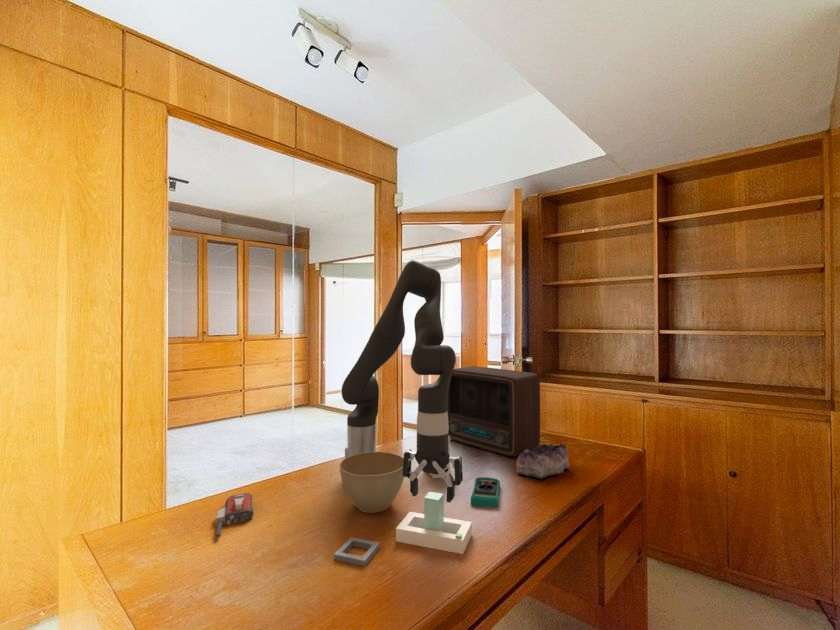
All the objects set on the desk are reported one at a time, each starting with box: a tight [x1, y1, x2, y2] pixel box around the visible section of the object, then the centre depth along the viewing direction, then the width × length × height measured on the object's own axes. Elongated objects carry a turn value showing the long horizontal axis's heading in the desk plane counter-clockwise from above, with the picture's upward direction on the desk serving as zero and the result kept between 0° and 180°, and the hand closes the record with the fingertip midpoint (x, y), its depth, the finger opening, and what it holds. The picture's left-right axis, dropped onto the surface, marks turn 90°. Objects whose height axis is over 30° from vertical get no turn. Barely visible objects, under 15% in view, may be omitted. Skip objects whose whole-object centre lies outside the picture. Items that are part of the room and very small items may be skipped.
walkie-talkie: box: [215, 492, 254, 538], centre depth 109 cm, size 9×4×20 cm
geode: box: [515, 443, 570, 480], centre depth 141 cm, size 20×12×10 cm, turn 124°
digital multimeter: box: [470, 476, 501, 508], centre depth 123 cm, size 8×15×3 cm, turn 167°
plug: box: [423, 491, 445, 532], centre depth 100 cm, size 4×4×10 cm
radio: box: [448, 365, 541, 458], centre depth 169 cm, size 36×18×30 cm, turn 43°
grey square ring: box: [333, 536, 381, 567], centre depth 93 cm, size 7×7×1 cm
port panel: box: [395, 511, 473, 555], centre depth 100 cm, size 16×9×4 cm, turn 70°
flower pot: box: [339, 451, 405, 514], centre depth 116 cm, size 18×18×12 cm
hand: (432, 498), depth 99 cm, fingers open, 8 cm apart
